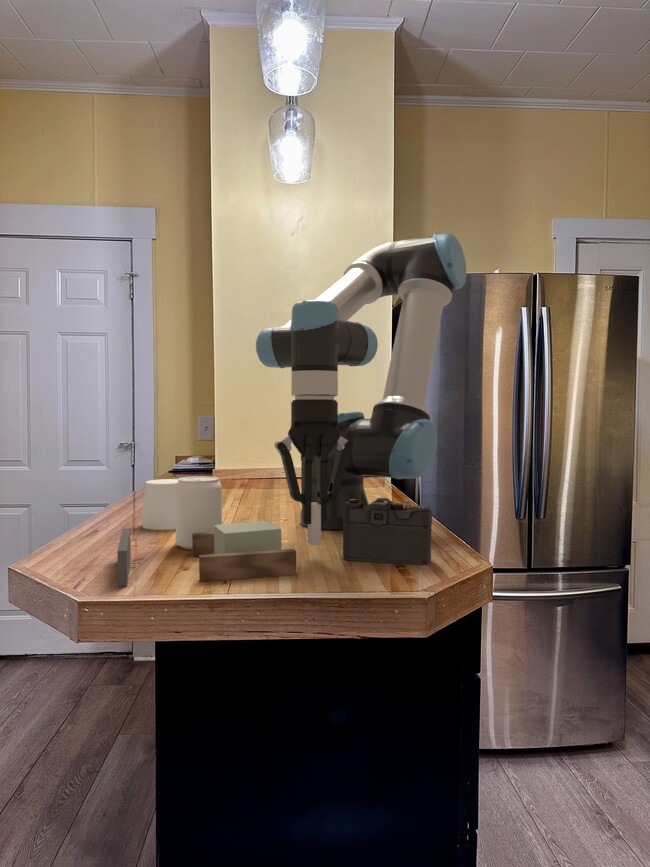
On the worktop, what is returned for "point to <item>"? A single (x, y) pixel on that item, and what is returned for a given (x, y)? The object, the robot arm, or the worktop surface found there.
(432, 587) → the worktop surface
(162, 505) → the mug
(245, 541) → the block
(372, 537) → the camera
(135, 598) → the worktop surface
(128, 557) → the bar
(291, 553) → the pair of brown rails
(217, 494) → the beverage can
